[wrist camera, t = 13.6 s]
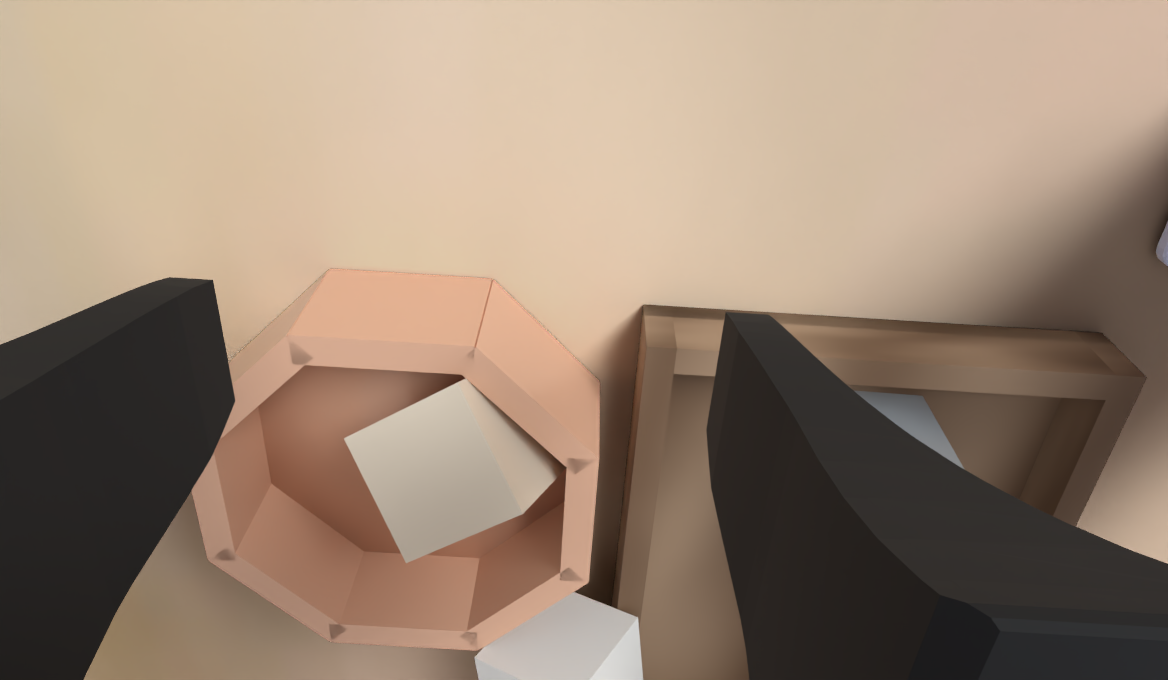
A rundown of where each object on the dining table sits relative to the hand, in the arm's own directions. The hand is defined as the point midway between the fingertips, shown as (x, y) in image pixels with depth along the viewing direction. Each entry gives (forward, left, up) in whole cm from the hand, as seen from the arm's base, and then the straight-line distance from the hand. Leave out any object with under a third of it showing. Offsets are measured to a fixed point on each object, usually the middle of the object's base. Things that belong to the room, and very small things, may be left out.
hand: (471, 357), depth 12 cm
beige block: (0, +9, -6) cm, 11 cm away
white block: (-2, +14, -7) cm, 15 cm away
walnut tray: (-10, +12, -10) cm, 18 cm away
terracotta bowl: (+3, +9, -10) cm, 14 cm away
